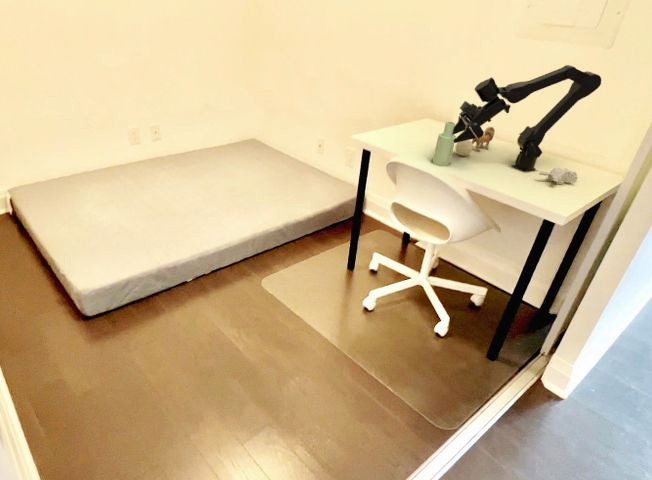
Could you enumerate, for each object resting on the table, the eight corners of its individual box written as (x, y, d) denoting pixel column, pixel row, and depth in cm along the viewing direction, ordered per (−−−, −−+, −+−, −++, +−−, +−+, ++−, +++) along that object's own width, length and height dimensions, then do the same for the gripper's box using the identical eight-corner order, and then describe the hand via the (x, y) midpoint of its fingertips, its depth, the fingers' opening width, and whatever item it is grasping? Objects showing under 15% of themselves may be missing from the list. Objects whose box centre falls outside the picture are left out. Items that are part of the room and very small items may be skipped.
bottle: (452, 164, 175) (463, 124, 166) (439, 166, 173) (449, 126, 163) (441, 159, 180) (451, 120, 171) (428, 160, 177) (438, 121, 168)
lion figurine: (482, 144, 198) (487, 124, 193) (492, 147, 195) (499, 127, 189) (464, 150, 190) (470, 129, 185) (475, 153, 187) (481, 133, 182)
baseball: (474, 156, 184) (479, 141, 180) (462, 158, 181) (466, 143, 177) (462, 151, 189) (466, 136, 185) (450, 153, 186) (454, 138, 182)
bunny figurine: (586, 173, 160) (561, 174, 154) (579, 186, 163) (555, 187, 157) (563, 164, 167) (539, 165, 161) (557, 177, 170) (533, 178, 164)
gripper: (471, 89, 168) (435, 116, 175) (484, 100, 153) (445, 129, 160) (485, 111, 172) (450, 137, 179) (499, 124, 157) (460, 152, 164)
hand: (451, 138), depth 170 cm, fingers open, 9 cm apart
